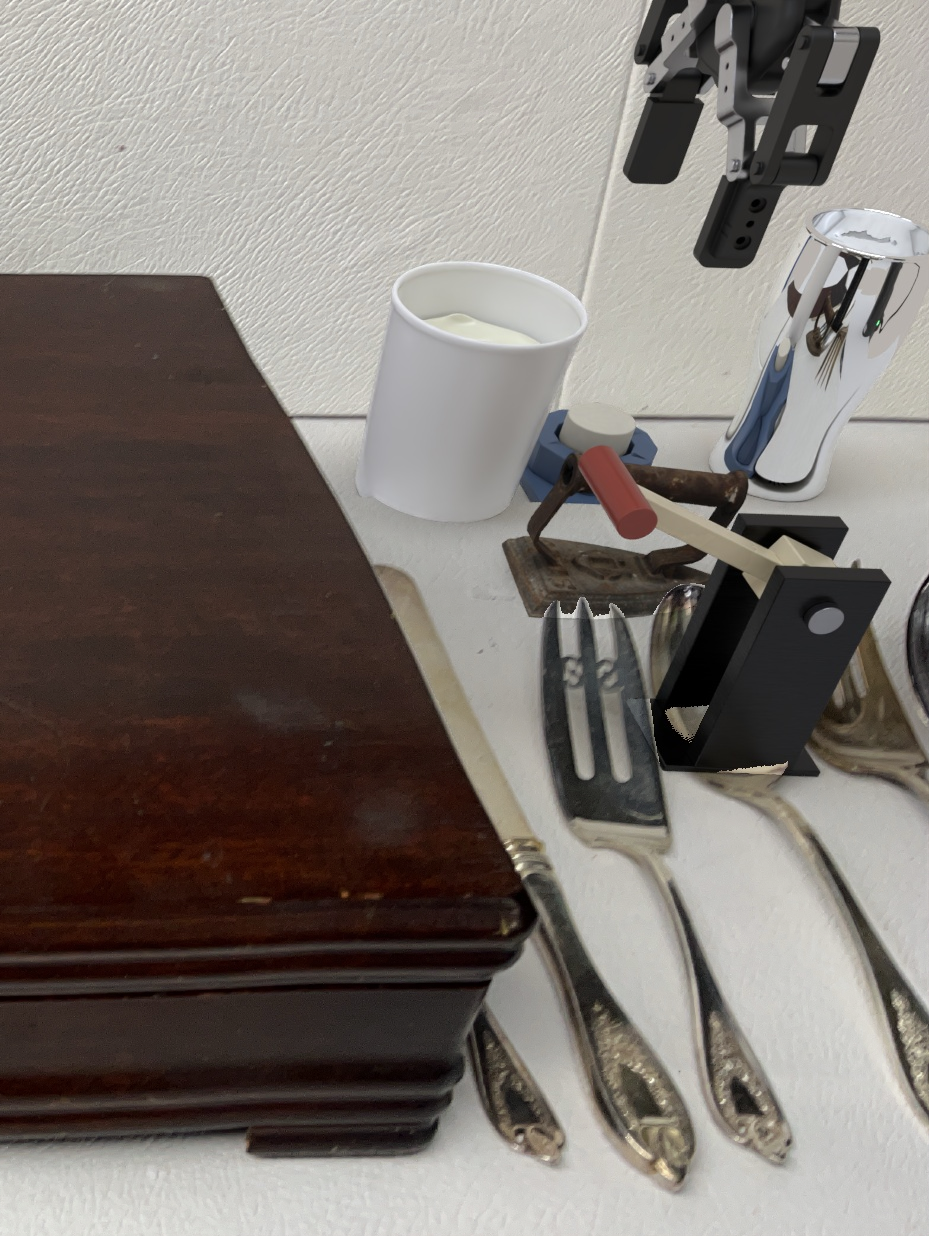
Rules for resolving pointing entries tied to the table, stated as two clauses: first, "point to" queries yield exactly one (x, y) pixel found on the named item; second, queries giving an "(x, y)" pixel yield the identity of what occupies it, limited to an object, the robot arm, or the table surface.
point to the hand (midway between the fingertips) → (681, 220)
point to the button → (597, 427)
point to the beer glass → (823, 345)
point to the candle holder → (464, 387)
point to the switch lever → (684, 522)
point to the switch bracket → (766, 653)
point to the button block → (553, 454)
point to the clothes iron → (610, 571)
